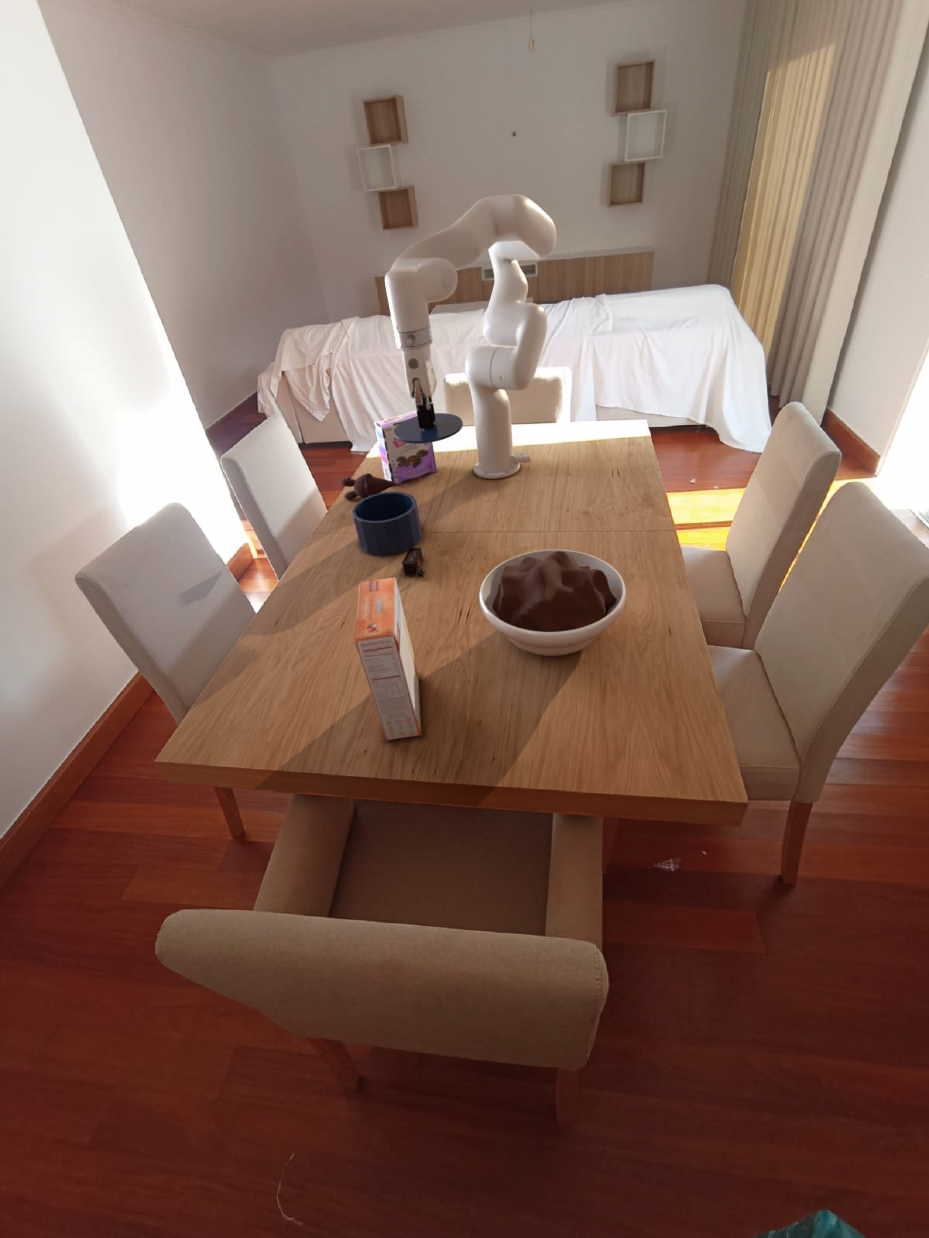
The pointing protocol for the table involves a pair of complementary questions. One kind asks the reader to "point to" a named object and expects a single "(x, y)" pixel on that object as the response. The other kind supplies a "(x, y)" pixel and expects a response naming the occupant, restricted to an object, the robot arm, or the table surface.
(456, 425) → the lid
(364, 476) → the icecream
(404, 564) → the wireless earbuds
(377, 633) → the cracker box
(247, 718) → the table surface
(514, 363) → the robot arm
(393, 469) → the candy box
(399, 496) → the pot
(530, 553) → the chocolate pudding bowl
